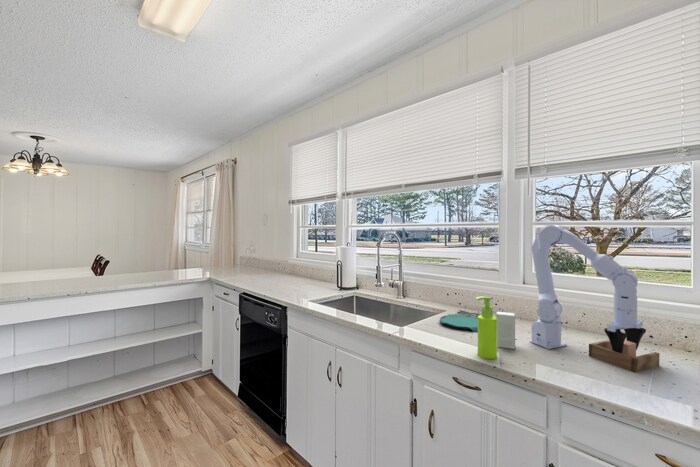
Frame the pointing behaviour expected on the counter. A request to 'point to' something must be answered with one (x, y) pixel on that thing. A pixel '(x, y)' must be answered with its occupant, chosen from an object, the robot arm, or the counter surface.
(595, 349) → the open-sided box
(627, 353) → the terracotta block
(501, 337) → the skincare box
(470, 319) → the teal flat rounded piece
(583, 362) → the counter surface
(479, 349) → the soap dispenser
